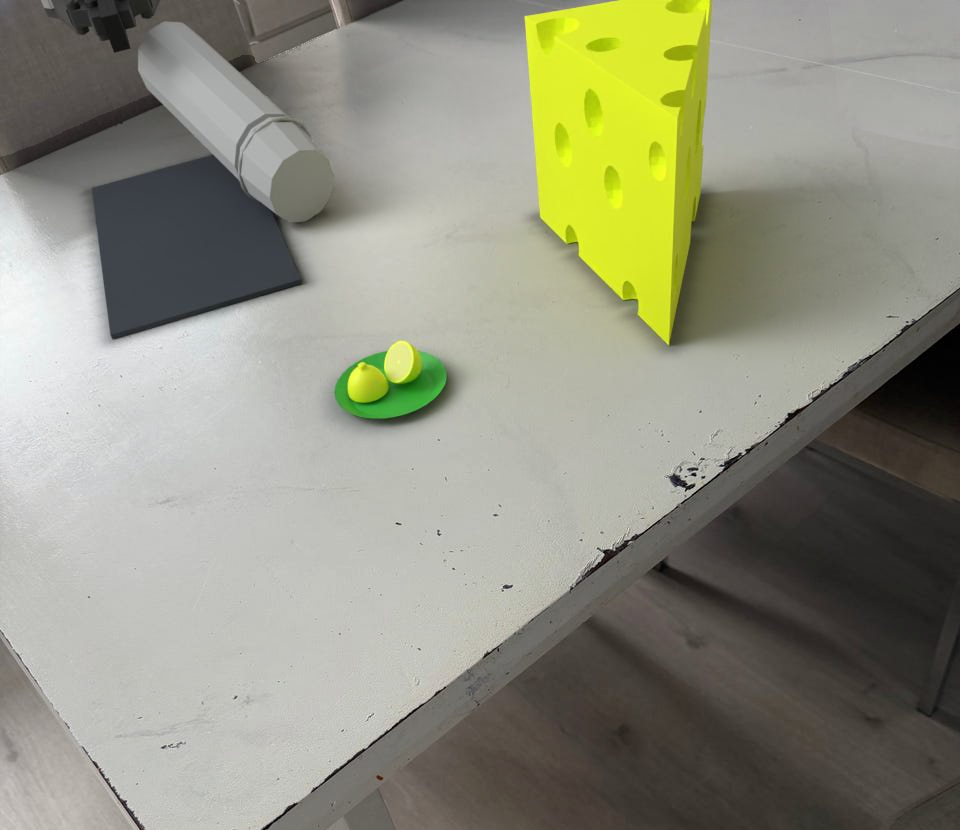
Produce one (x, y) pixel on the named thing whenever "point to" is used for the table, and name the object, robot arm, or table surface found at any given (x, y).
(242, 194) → the slate mat
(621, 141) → the cheese wedge
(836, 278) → the table surface
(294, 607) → the table surface
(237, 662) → the table surface
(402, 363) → the lemon
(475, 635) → the table surface
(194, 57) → the water bottle
